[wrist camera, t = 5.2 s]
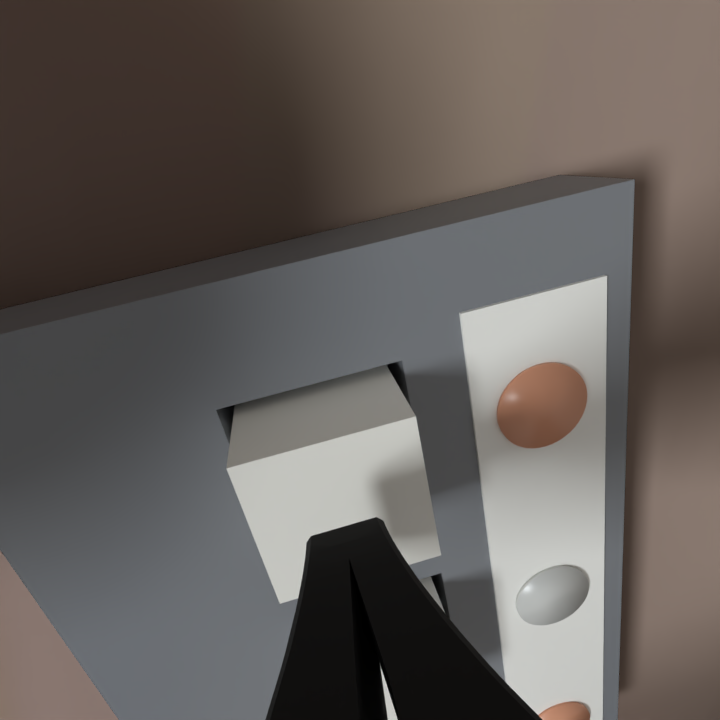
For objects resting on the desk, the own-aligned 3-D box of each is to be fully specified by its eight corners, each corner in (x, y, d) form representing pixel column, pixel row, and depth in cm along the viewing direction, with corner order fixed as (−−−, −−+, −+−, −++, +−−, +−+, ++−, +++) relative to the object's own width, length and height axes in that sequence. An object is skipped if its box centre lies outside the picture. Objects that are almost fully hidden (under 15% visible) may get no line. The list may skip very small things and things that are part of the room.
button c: (277, 509, 14) (280, 603, 11) (236, 394, 12) (226, 468, 9) (405, 472, 14) (441, 555, 11) (380, 355, 12) (415, 416, 10)
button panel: (247, 807, 22) (244, 908, 19) (-39, 318, 12) (-137, 370, 9) (574, 698, 23) (619, 776, 20) (559, 175, 13) (641, 179, 10)
